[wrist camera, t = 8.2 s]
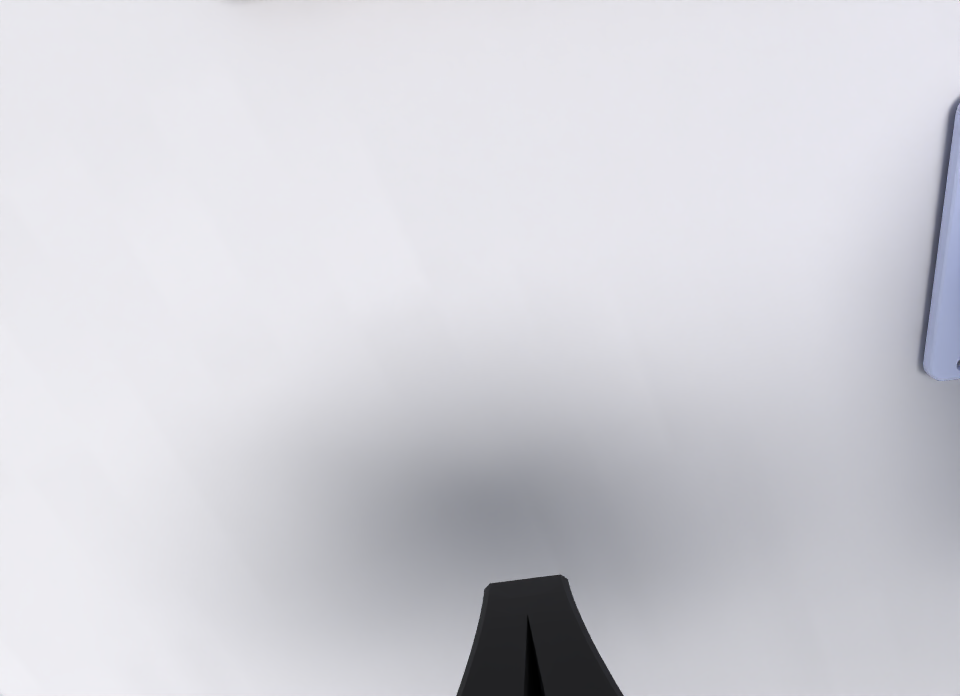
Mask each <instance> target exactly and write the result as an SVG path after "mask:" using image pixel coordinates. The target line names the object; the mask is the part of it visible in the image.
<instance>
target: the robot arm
mask: <svg viewBox="0 0 960 696" xmlns="http://www.w3.org/2000/svg"><path fill="white" fill-rule="evenodd" d="M959 360H960V104H959V105H958V108H957V111H956V114H955V122H954V129H953V137H952V145H951V153H950V160H949V168H948V176H947V184H946V191H945V199H944V207H943V214H942V222H941V230H940V238H939V245H938V253H937V261H936V269H935V276H934V284H933V292H932V299H931V307H930V315H929V323H928V330H927V338H926V346H925V354H924V361H923V366H924V370H925V371H926V373H927V374H928V375H930V376H931V377H932V378H934V379H936V380H938V381H947V380H955V379H960V365H957V363H958V361H959ZM457 696H623V694H622V692H621V691H620V689H619V687H618V686H617V684H616V682H615V681H614V679H613V677H612V675H611V674H610V672H609V670H608V668H607V667H606V665H605V663H604V661H603V660H602V658H601V656H600V654H599V652H598V651H597V649H596V647H595V645H594V643H593V641H592V639H591V637H590V635H589V633H588V631H587V629H586V627H585V624H584V622H583V620H582V618H581V616H580V613H579V611H578V609H577V606H576V604H575V601H574V598H573V595H572V593H571V590H570V586H569V582H568V579H567V578H565V577H564V576H562V575H554V576H546V577H538V578H530V579H522V580H514V581H506V582H498V583H491V584H489V585H488V586H487V587H486V588H485V589H484V597H483V604H482V609H481V614H480V619H479V623H478V627H477V631H476V635H475V639H474V642H473V646H472V649H471V653H470V656H469V659H468V662H467V665H466V669H465V672H464V675H463V678H462V681H461V684H460V687H459V690H458V693H457Z"/></svg>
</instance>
